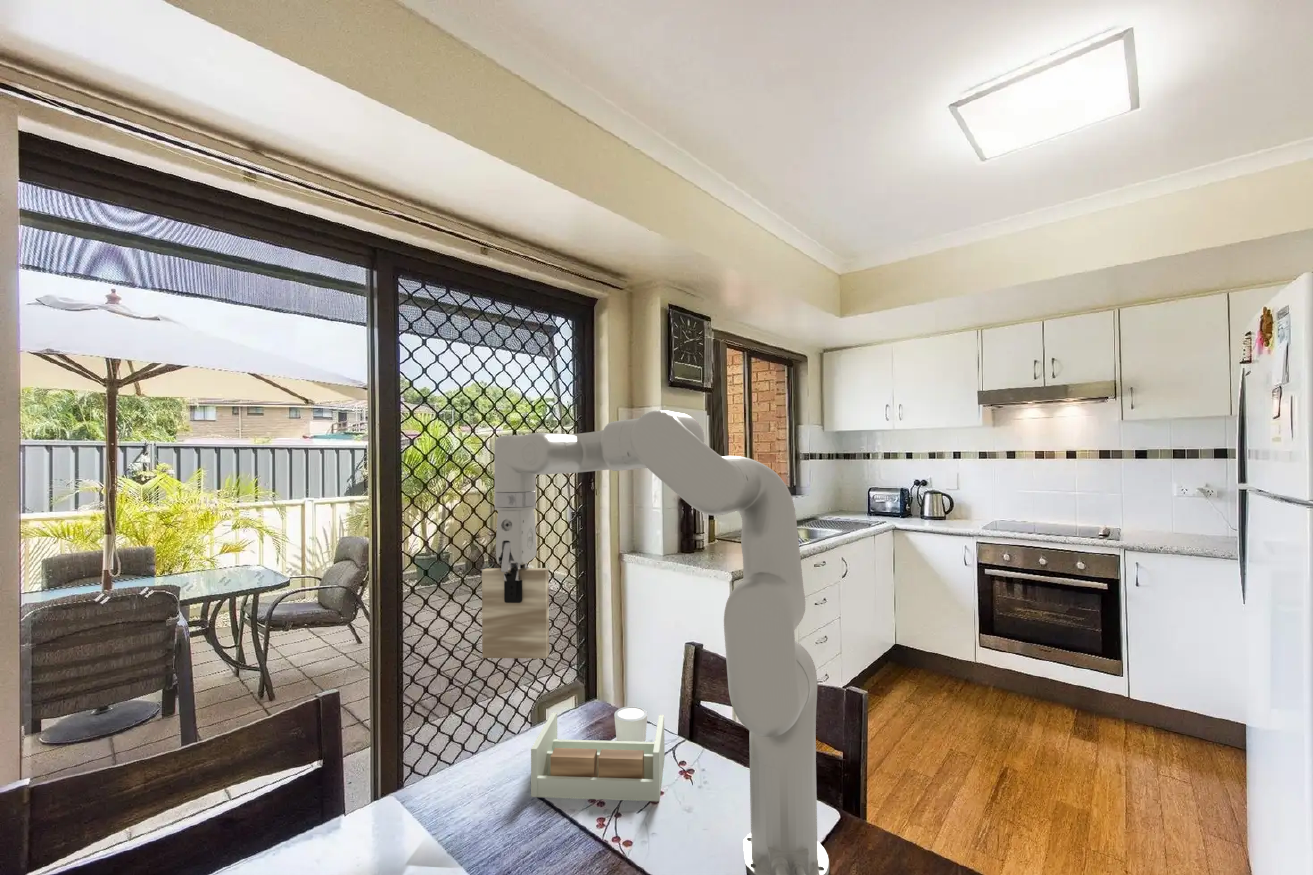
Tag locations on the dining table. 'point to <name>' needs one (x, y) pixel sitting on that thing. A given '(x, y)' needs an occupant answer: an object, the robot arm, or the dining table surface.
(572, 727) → the dining table surface
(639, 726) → the white cup
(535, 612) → the birch sheet
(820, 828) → the dining table surface
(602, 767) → the offcut
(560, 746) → the rack
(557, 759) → the offcut
